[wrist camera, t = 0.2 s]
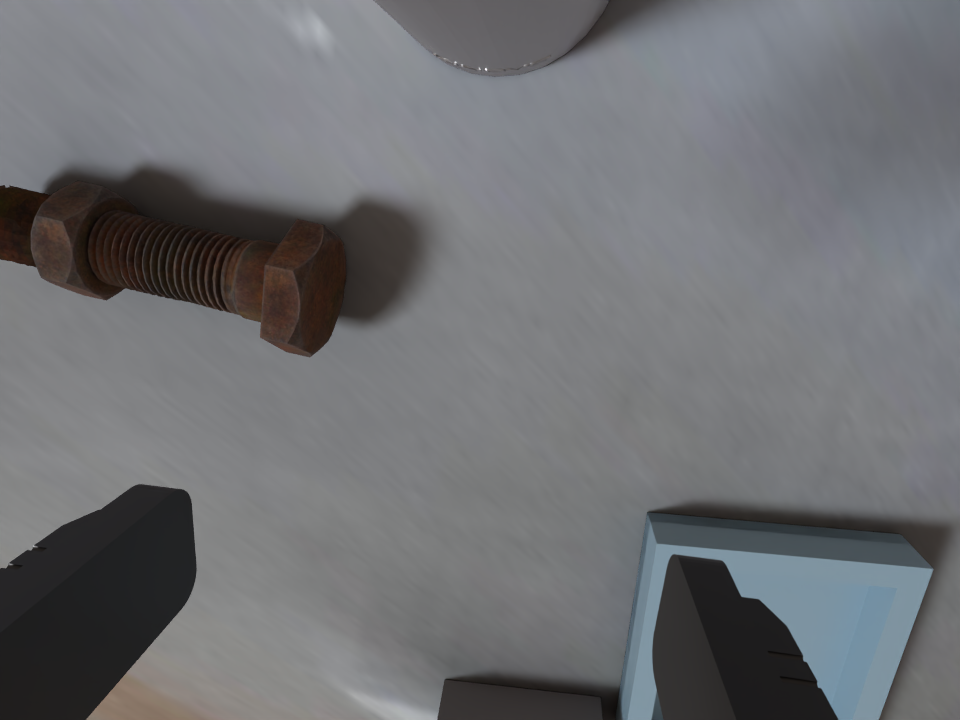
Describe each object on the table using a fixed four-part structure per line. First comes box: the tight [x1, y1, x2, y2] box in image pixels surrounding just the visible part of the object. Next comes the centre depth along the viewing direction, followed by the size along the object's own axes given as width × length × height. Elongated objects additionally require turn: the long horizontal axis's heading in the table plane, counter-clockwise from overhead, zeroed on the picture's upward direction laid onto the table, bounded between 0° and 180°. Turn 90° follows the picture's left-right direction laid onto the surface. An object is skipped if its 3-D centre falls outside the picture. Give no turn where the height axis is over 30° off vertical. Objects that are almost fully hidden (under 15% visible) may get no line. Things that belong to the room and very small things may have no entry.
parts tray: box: [615, 512, 933, 720], centre depth 30 cm, size 14×12×2 cm
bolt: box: [0, 181, 346, 357], centre depth 25 cm, size 6×5×15 cm
